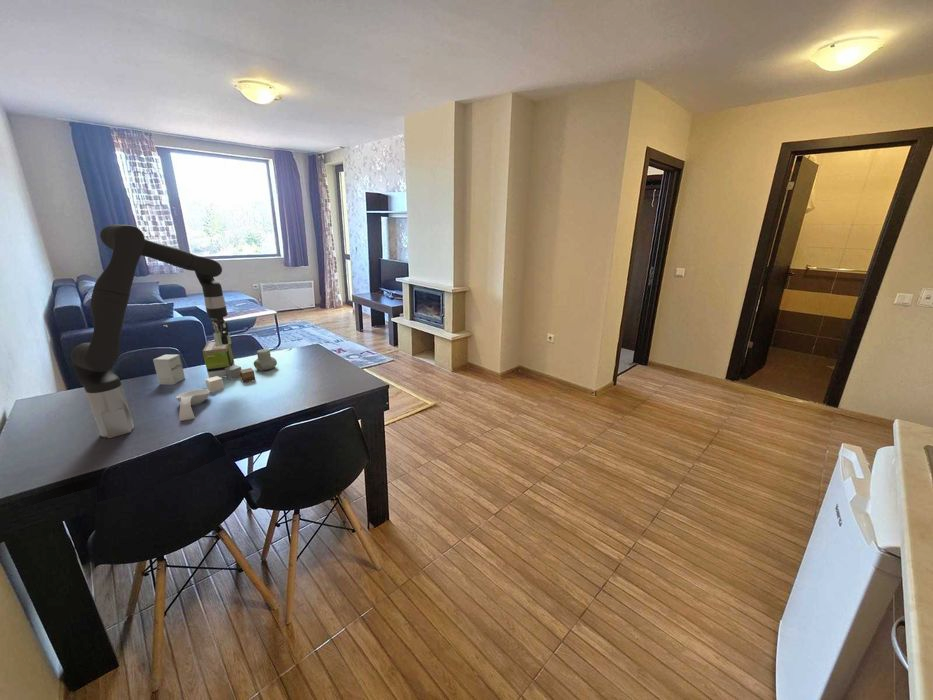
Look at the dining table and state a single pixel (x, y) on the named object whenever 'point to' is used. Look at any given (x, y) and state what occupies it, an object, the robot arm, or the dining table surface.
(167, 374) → the supplement box
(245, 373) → the walnut cube
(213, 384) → the cream cube
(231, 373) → the slate cube
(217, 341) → the sage cube
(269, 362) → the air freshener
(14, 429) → the dining table surface
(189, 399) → the spoon rest
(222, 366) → the tea box
